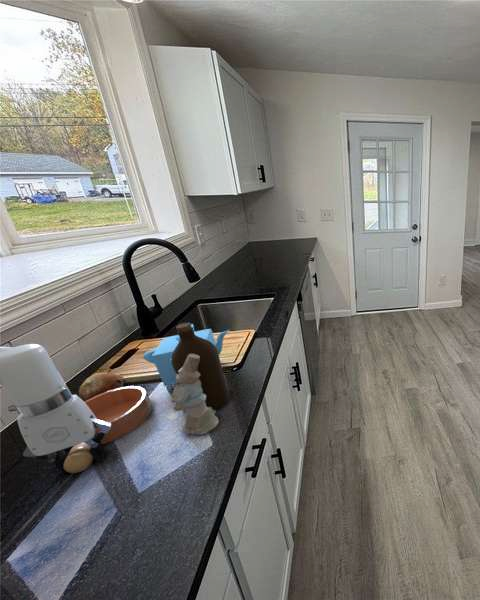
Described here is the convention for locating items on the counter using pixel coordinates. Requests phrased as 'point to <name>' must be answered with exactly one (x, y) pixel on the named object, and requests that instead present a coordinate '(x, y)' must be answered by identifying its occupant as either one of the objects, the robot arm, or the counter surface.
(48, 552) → the counter surface
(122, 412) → the terracotta dish
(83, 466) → the potato
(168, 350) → the light blue teapot
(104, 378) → the bread roll
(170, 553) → the counter surface
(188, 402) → the figurine
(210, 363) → the olive oil
